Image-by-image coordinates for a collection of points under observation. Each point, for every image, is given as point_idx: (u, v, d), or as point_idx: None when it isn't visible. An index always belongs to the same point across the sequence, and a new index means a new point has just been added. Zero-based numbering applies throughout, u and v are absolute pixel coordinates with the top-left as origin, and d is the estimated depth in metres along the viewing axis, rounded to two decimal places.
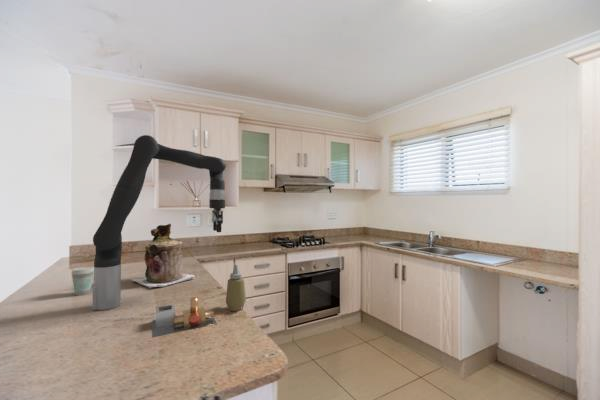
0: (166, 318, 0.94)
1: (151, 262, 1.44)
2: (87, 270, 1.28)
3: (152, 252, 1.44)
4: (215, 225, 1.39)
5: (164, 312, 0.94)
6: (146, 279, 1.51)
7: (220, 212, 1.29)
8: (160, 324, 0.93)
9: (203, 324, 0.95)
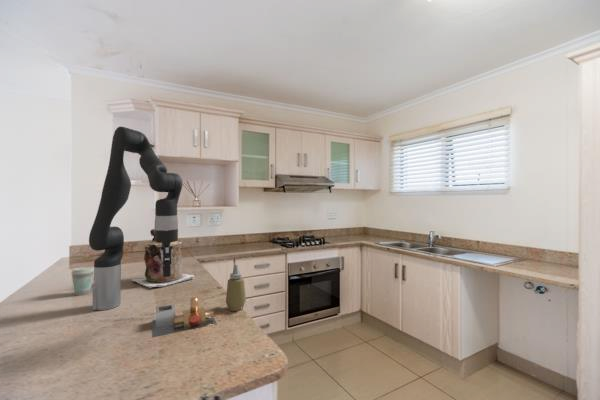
0: (166, 318, 0.94)
1: (151, 262, 1.44)
2: (87, 270, 1.28)
3: (152, 252, 1.44)
4: None
5: (164, 312, 0.94)
6: (146, 279, 1.51)
7: (167, 249, 0.91)
8: (160, 324, 0.93)
9: (203, 324, 0.95)
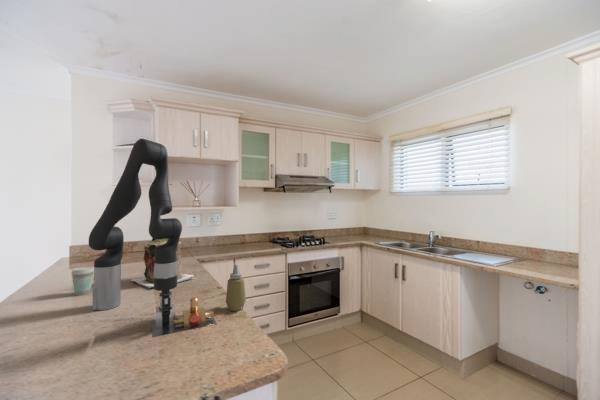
0: None
1: (150, 262, 1.44)
2: (87, 270, 1.28)
3: (151, 252, 1.44)
4: None
5: None
6: (145, 279, 1.51)
7: (166, 301, 0.91)
8: (160, 324, 0.93)
9: (203, 324, 0.95)
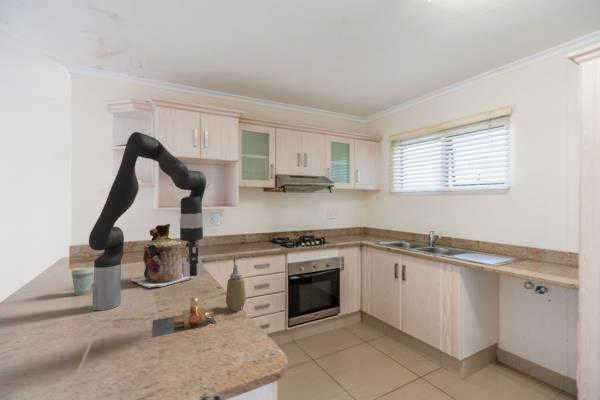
0: None
1: (150, 262, 1.44)
2: (87, 270, 1.28)
3: (151, 252, 1.44)
4: None
5: None
6: (145, 279, 1.51)
7: (194, 249, 0.90)
8: (188, 274, 0.93)
9: (203, 324, 0.95)
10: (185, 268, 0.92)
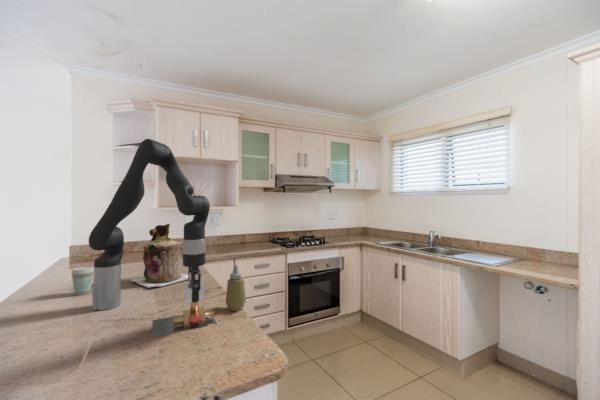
0: None
1: (150, 262, 1.44)
2: (87, 270, 1.28)
3: (151, 252, 1.44)
4: None
5: None
6: (145, 279, 1.51)
7: (197, 276, 0.91)
8: (190, 300, 0.93)
9: (203, 324, 0.95)
10: (187, 294, 0.93)
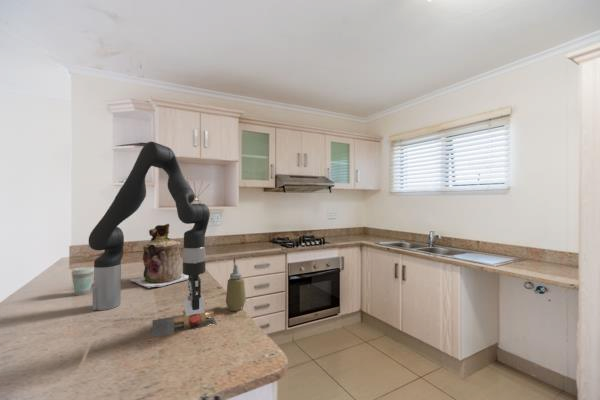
0: None
1: (149, 262, 1.44)
2: (87, 270, 1.28)
3: (150, 252, 1.44)
4: (192, 294, 1.00)
5: None
6: (144, 279, 1.51)
7: (197, 283, 0.90)
8: (190, 313, 0.93)
9: (203, 324, 0.95)
10: (187, 307, 0.92)
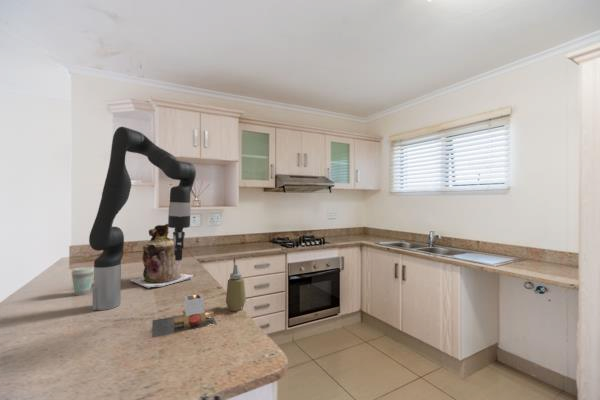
0: (195, 307, 0.94)
1: (149, 262, 1.44)
2: (87, 270, 1.28)
3: (150, 252, 1.44)
4: None
5: (194, 301, 0.93)
6: (144, 279, 1.51)
7: (180, 234, 0.95)
8: (190, 313, 0.93)
9: (203, 324, 0.95)
10: (187, 307, 0.92)
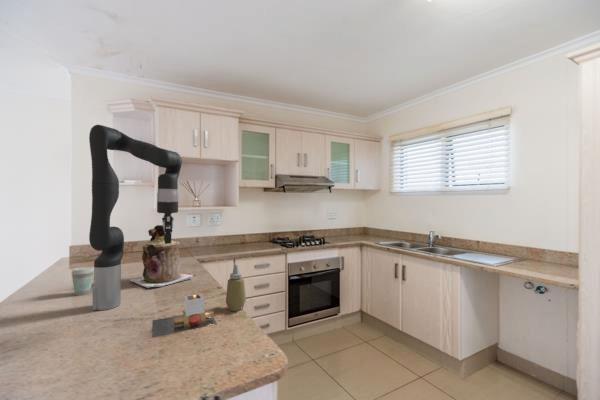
0: (195, 307, 0.94)
1: (149, 262, 1.44)
2: (87, 270, 1.28)
3: (150, 252, 1.44)
4: None
5: (194, 301, 0.93)
6: (144, 279, 1.51)
7: (168, 218, 1.01)
8: (190, 313, 0.93)
9: (203, 324, 0.95)
10: (187, 307, 0.92)
